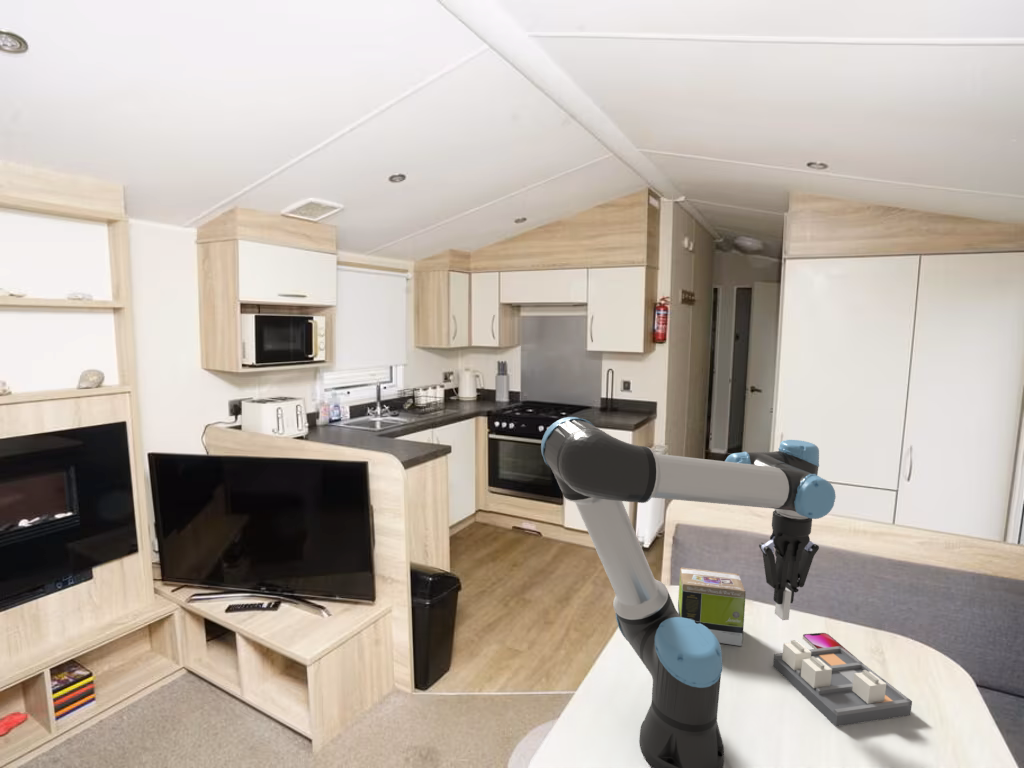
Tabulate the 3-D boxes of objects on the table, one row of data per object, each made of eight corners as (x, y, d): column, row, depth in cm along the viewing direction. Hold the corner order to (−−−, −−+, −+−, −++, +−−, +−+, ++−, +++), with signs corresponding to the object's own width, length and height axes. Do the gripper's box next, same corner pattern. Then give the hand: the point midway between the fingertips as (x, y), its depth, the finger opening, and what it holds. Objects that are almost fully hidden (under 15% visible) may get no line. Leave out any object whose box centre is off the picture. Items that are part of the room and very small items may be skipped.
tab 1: (794, 670, 123) (796, 650, 122) (782, 659, 127) (784, 640, 126) (809, 668, 124) (811, 648, 123) (797, 657, 128) (799, 638, 127)
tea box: (735, 625, 145) (740, 572, 143) (742, 648, 135) (747, 591, 133) (676, 617, 148) (680, 565, 146) (678, 638, 139) (682, 583, 137)
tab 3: (867, 703, 113) (870, 682, 112) (852, 690, 117) (854, 669, 116) (884, 701, 114) (886, 680, 113) (868, 688, 118) (870, 667, 117)
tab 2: (813, 688, 117) (816, 667, 117) (800, 676, 121) (802, 656, 120) (830, 686, 118) (832, 665, 117) (816, 674, 122) (818, 654, 121)
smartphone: (844, 673, 126) (800, 634, 141) (843, 677, 126) (800, 637, 141) (872, 671, 127) (826, 632, 142) (872, 674, 127) (826, 635, 142)
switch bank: (835, 726, 110) (837, 712, 110) (772, 666, 128) (774, 653, 128) (910, 715, 114) (912, 701, 113) (838, 658, 132) (840, 646, 132)
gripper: (776, 520, 112) (764, 628, 115) (832, 518, 114) (820, 624, 117) (754, 507, 119) (744, 609, 123) (807, 506, 122) (796, 605, 125)
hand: (781, 616), depth 120 cm, fingers closed
